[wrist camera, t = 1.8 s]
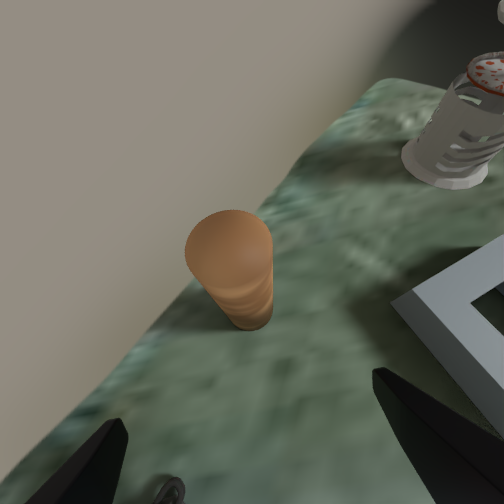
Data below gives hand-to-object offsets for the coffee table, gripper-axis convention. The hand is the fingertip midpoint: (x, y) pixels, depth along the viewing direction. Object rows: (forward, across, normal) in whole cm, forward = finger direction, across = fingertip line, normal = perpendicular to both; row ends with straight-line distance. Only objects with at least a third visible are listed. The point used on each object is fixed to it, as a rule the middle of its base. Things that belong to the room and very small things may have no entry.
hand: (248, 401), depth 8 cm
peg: (+14, 0, +4) cm, 15 cm away
